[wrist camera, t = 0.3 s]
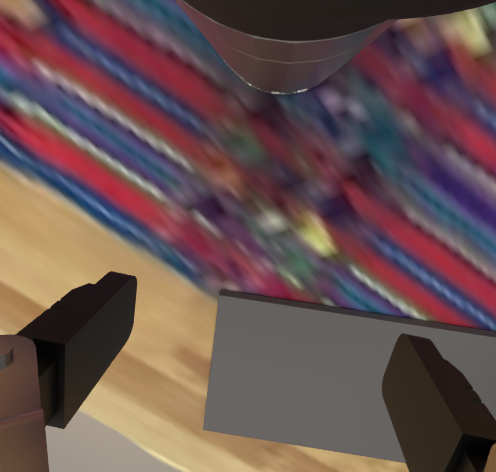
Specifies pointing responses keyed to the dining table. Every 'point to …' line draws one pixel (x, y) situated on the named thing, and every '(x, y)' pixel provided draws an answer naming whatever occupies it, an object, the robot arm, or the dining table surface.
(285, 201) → the dining table surface
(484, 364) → the mat
